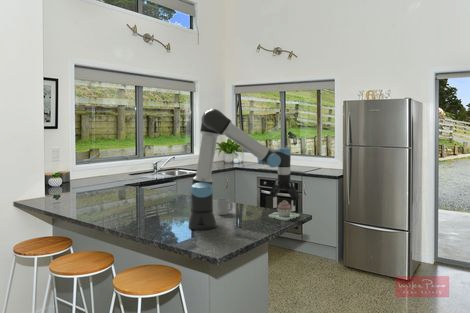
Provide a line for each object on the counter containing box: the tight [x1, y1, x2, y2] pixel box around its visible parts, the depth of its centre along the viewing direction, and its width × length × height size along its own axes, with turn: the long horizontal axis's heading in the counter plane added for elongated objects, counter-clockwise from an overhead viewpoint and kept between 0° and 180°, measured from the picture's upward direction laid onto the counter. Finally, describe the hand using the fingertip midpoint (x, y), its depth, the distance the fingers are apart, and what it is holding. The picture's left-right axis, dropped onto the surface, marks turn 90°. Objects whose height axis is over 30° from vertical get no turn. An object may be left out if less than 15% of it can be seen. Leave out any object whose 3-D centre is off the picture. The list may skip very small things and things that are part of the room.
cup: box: [216, 198, 234, 216], centre depth 244 cm, size 7×10×9 cm
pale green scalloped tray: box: [268, 211, 300, 222], centre depth 234 cm, size 13×14×2 cm
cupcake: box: [276, 199, 292, 217], centre depth 233 cm, size 9×9×10 cm
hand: (284, 209), depth 233 cm, fingers open, 13 cm apart
